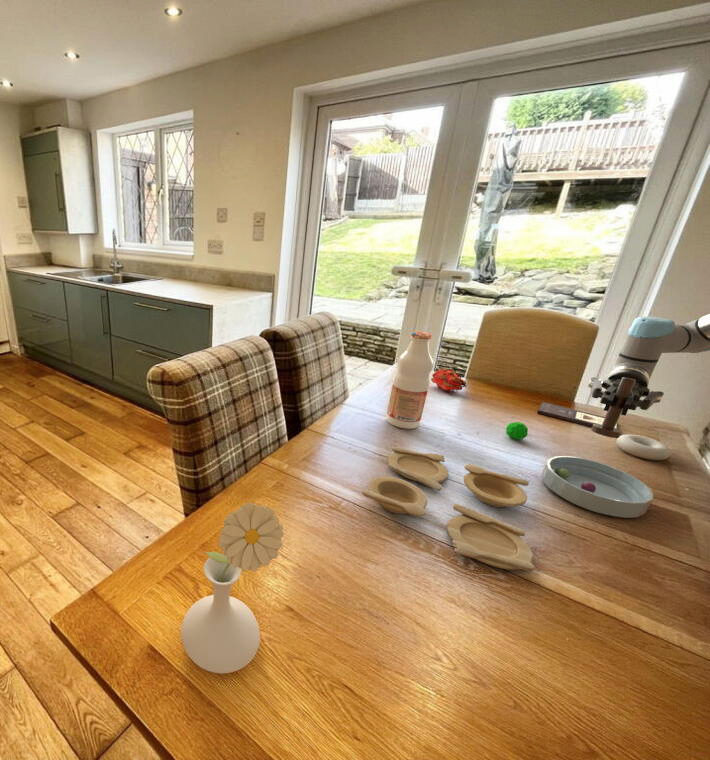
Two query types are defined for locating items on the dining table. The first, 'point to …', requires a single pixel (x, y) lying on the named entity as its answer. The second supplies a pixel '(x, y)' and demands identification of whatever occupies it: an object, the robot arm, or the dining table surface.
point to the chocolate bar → (570, 414)
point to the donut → (643, 447)
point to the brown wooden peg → (615, 410)
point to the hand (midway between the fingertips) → (616, 407)
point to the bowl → (598, 487)
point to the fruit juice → (411, 383)
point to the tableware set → (459, 507)
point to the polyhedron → (516, 430)
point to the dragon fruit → (448, 380)
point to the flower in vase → (221, 611)
